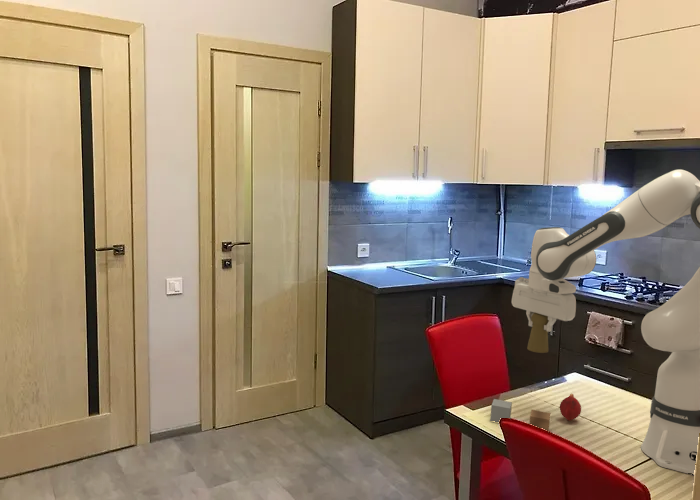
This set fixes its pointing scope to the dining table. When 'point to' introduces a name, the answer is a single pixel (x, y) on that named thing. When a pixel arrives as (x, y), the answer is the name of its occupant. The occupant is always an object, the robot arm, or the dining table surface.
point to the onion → (570, 408)
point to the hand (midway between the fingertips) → (539, 328)
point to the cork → (538, 334)
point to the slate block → (500, 410)
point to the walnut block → (540, 419)
